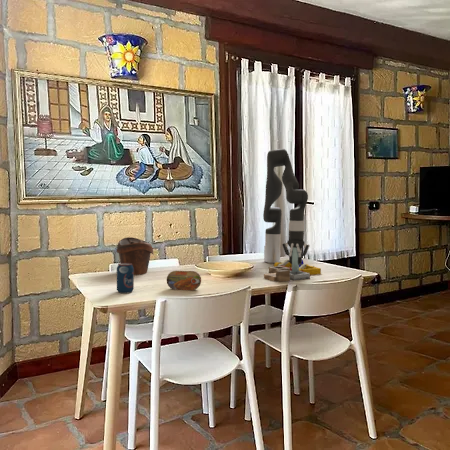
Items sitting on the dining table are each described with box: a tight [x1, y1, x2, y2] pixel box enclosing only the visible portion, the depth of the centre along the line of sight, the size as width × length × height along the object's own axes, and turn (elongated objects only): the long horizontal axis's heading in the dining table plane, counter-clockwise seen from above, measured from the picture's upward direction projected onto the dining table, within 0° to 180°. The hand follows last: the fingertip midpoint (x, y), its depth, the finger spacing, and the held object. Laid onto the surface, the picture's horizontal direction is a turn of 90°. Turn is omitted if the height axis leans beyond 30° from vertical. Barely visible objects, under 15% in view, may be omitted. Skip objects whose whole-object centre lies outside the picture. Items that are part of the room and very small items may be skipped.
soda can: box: [116, 262, 135, 294], centre depth 191 cm, size 7×7×12 cm
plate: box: [263, 273, 277, 282], centre depth 224 cm, size 8×8×2 cm
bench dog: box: [275, 270, 291, 283], centre depth 219 cm, size 3×6×5 cm, turn 121°
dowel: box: [291, 248, 299, 272], centre depth 227 cm, size 4×4×12 cm
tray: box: [290, 271, 311, 281], centre depth 228 cm, size 10×10×2 cm
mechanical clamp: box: [273, 259, 322, 276], centre depth 247 cm, size 18×6×30 cm
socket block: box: [268, 266, 291, 274], centre depth 239 cm, size 8×8×3 cm
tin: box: [166, 270, 202, 292], centre depth 198 cm, size 15×3×8 cm, turn 81°
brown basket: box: [116, 236, 154, 276], centre depth 236 cm, size 18×20×18 cm
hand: (295, 263), depth 228 cm, fingers closed on dowel, 3 cm apart
